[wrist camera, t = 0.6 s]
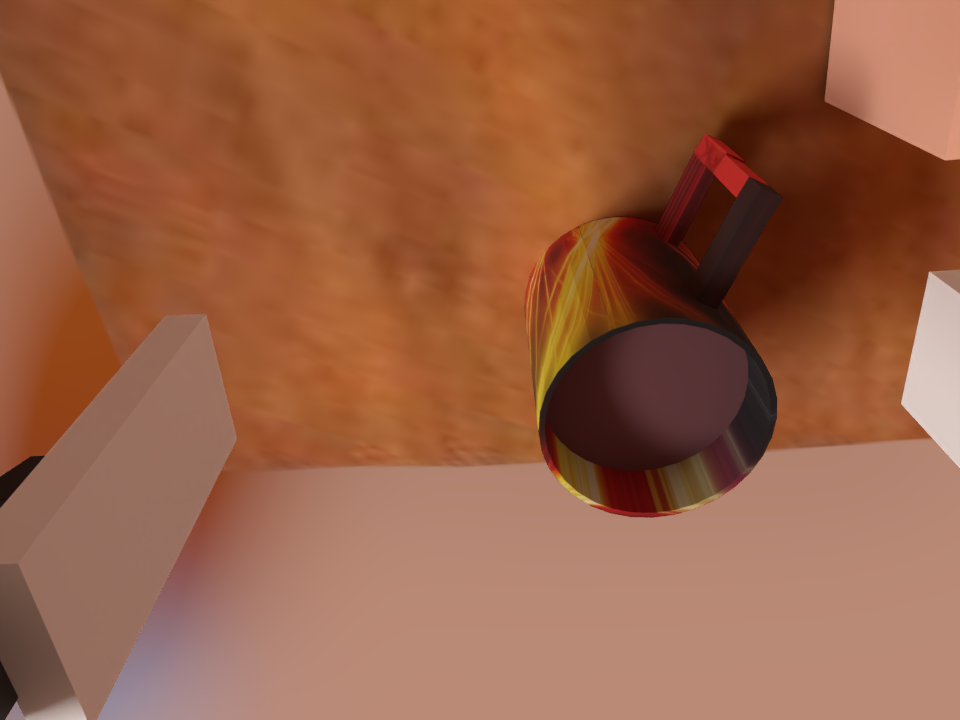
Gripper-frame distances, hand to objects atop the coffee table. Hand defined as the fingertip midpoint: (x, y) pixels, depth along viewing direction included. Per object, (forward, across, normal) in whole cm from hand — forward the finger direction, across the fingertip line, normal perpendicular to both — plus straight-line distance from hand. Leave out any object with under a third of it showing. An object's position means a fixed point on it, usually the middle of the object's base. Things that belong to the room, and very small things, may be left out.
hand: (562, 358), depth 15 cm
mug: (+26, +5, -8) cm, 28 cm away
